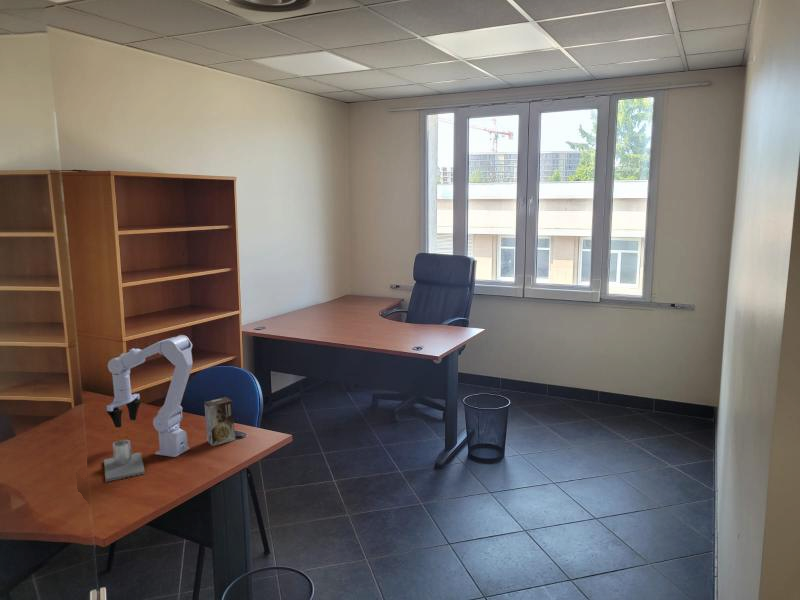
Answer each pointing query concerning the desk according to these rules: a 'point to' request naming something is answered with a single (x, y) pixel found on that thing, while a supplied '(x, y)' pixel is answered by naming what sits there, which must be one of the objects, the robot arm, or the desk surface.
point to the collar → (122, 452)
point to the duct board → (123, 468)
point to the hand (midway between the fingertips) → (125, 423)
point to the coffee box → (219, 421)
